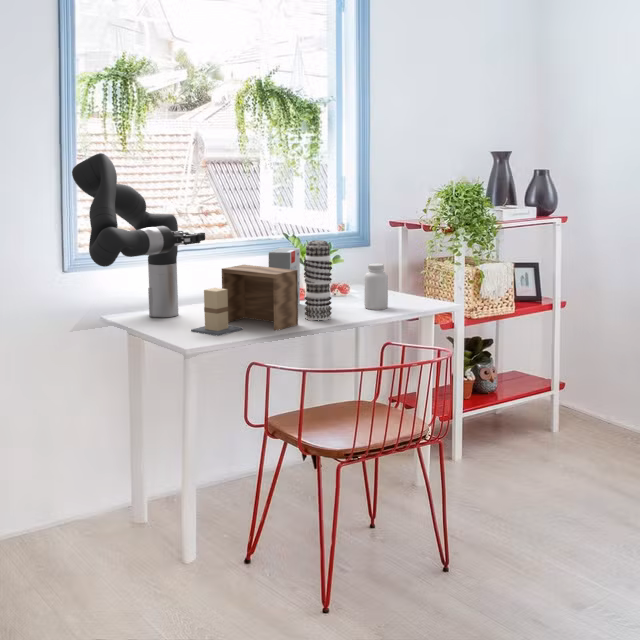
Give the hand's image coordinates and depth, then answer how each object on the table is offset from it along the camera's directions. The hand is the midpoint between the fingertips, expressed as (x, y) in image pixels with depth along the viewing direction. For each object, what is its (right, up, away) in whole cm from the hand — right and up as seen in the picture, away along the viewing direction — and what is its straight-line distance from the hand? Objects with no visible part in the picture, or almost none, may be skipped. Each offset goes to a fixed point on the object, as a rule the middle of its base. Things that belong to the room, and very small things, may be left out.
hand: (193, 235), depth 276 cm
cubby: (+17, -26, +24) cm, 39 cm away
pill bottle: (+56, -21, +50) cm, 78 cm away
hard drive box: (+24, -20, +52) cm, 61 cm away
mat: (+5, -28, +15) cm, 32 cm away
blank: (+5, -27, +14) cm, 31 cm away
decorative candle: (+36, -24, +33) cm, 54 cm away
